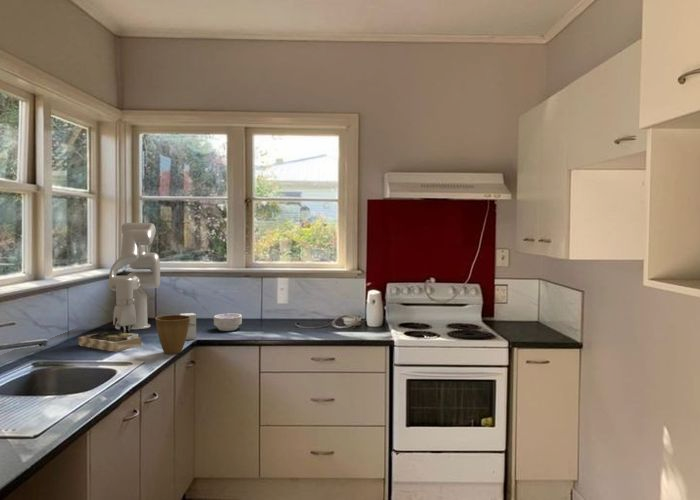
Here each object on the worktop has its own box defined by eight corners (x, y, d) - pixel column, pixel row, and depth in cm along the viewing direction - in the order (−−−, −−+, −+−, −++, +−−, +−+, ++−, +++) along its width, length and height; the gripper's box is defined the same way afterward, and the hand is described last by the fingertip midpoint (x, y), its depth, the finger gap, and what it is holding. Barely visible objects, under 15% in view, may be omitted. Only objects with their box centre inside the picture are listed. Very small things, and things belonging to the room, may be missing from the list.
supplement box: (181, 340, 254) (181, 315, 254) (179, 337, 261) (178, 313, 260) (196, 339, 258) (196, 314, 257) (193, 336, 264) (193, 312, 264)
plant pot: (165, 358, 220) (165, 321, 219) (149, 352, 230) (149, 317, 229) (196, 352, 230) (196, 317, 230) (180, 347, 241) (180, 313, 240)
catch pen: (78, 345, 243) (78, 337, 243) (105, 339, 256) (104, 332, 256) (115, 351, 231) (115, 343, 231) (141, 345, 243) (141, 337, 243)
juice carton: (141, 344, 248) (140, 331, 247) (130, 349, 238) (129, 336, 238) (102, 343, 250) (102, 331, 250) (90, 348, 240) (89, 335, 240)
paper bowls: (228, 333, 273) (228, 318, 272) (207, 330, 280) (207, 316, 280) (247, 328, 286) (247, 314, 286) (227, 325, 293) (227, 312, 293)
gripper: (132, 300, 258) (132, 335, 259) (106, 303, 245) (106, 341, 246) (142, 301, 255) (143, 337, 256) (116, 305, 242) (117, 343, 242)
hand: (125, 339), depth 251 cm, fingers closed
